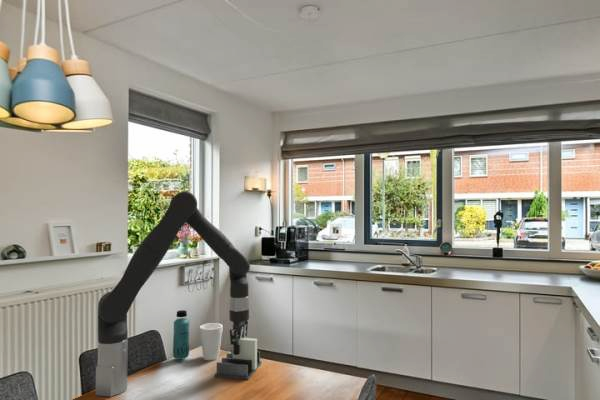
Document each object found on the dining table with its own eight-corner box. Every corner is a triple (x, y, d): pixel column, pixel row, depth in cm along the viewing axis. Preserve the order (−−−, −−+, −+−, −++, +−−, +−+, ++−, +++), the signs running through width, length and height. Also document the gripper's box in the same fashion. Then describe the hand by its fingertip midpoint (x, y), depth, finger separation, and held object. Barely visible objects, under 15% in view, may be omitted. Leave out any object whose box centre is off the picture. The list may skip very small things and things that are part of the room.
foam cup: (227, 356, 173) (227, 325, 173) (211, 363, 165) (211, 330, 165) (210, 352, 178) (210, 321, 178) (194, 358, 170) (194, 327, 170)
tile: (254, 369, 156) (255, 340, 156) (232, 368, 158) (232, 339, 158) (257, 367, 158) (257, 338, 158) (234, 365, 160) (235, 337, 160)
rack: (248, 379, 149) (248, 366, 149) (214, 376, 152) (214, 363, 152) (261, 363, 165) (261, 351, 165) (230, 360, 167) (230, 348, 168)
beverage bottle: (169, 360, 167) (169, 311, 168) (181, 355, 173) (181, 308, 174) (181, 363, 164) (181, 313, 165) (192, 358, 170) (193, 310, 171)
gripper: (236, 303, 167) (236, 345, 166) (222, 311, 152) (222, 357, 152) (254, 304, 165) (254, 346, 165) (242, 313, 151) (241, 359, 151)
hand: (239, 351), depth 158 cm, fingers open, 5 cm apart
